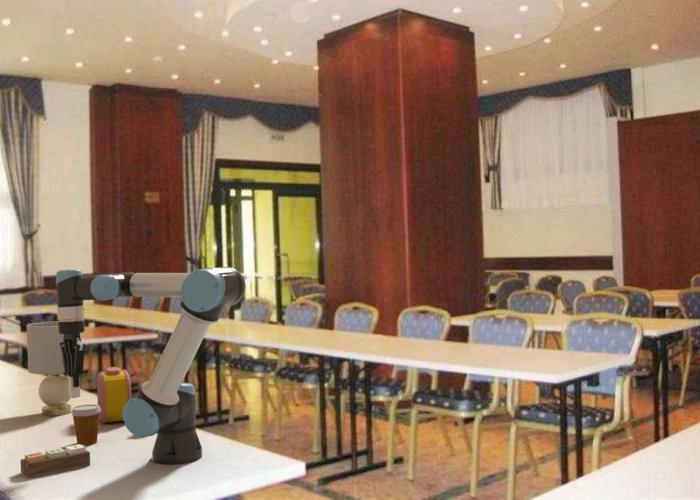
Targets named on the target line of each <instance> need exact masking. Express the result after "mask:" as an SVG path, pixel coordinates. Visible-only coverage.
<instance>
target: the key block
mask: <svg viewBox="0 0 700 500" xmlns="http://www.w3.org/2000/svg"><path fill="white" fill-rule="evenodd" d="M88 466H91V453H90V451H88V450H87V449H86V452H83V453H78V454H73V455H69V454H67V453H66V456H63V457H58V458H53V459H49V458H47V457H46V454H45V460H43V461H38V462H33V463H28V462H26V461H25V458H21V459H20V474H22V473H23V474H24V476H25V477H26V478H29V479H31V478H36V477H43V476H46V475H51V474H54V473H56V474H57V473H59V472H63V471H65V472H66V471H69V470H74V469H79V468H85V467H88ZM23 474H22V475H23Z"/></svg>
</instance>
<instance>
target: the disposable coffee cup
mask: <svg viewBox="0 0 700 500" xmlns="http://www.w3.org/2000/svg"><path fill="white" fill-rule="evenodd" d="M100 411H101V409H100V406H99V405H98V404H93V403H91V404H80V405H76V406H73V407H72V408H71V415H72V419H73V425H74V431H75V437H76V445H79V444H80V445H82V446H90V445H93V444H96V443H97V442H98V435H99V434H98V433H99V425H100V417H99V416H100Z"/></svg>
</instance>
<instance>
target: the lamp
mask: <svg viewBox="0 0 700 500" xmlns="http://www.w3.org/2000/svg"><path fill="white" fill-rule="evenodd" d="M59 322H60V320H58V321H57V320H56V321H43V322H35V323H29V324H27V325H26V341H27V345H26V346H27V367H28V370H27V371H28V373H30V374H33V375H34V374H35V375H47V376H46V377H45V378H43V379H42V381H41V382H40V383H39V387H38V396H39V399H40V400H41V402H42V403H43V404H44V406H42V407H41V415H42V416H45V417H57V416H63V415H69V414H70V413H71V412H72V404H70V403H68V402H69V401H70V400H71V399H72V398H70V395H69V376H67V375H65V374H66V373H65V371H64V364H63V357H62V351H61V347H60V342H63V337H64V334H59V330H58V323H59ZM80 337H81V338H82V333H80ZM81 343H82V340H81ZM82 344H83V343H82ZM64 373H65V374H64ZM71 414H72V413H71Z"/></svg>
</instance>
